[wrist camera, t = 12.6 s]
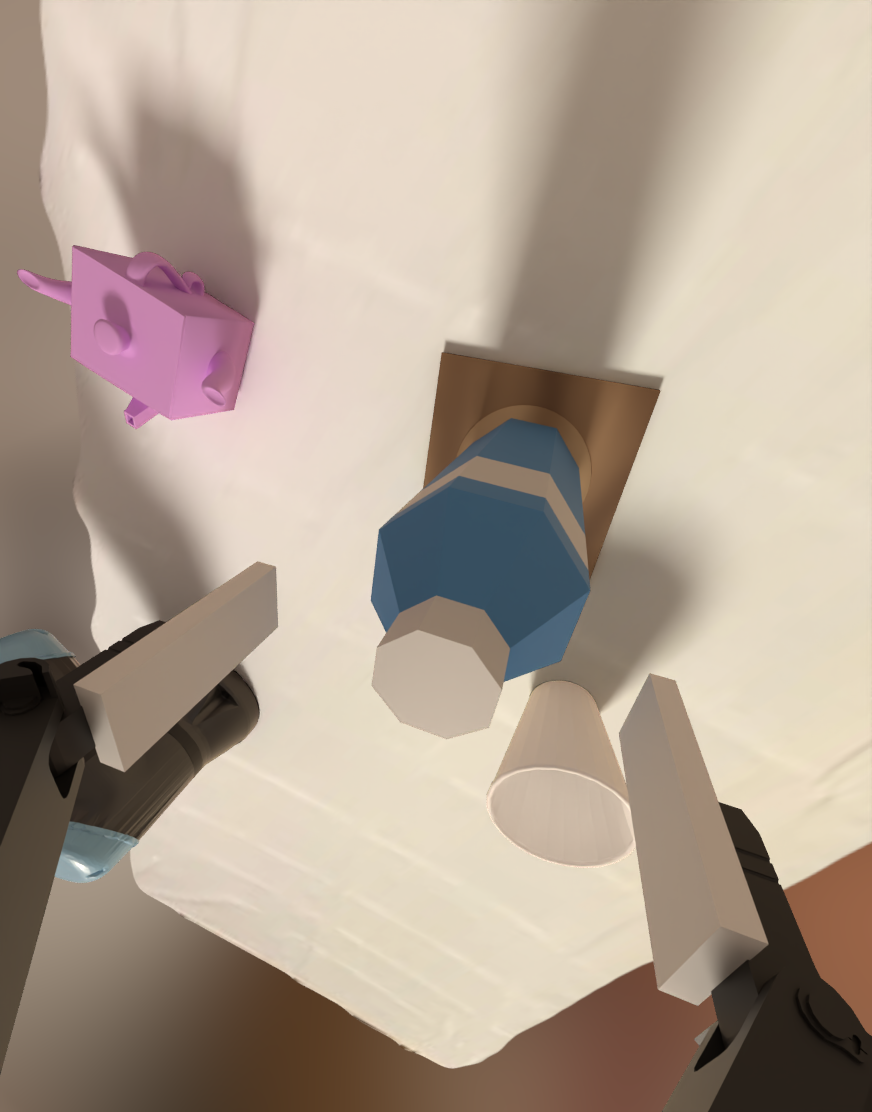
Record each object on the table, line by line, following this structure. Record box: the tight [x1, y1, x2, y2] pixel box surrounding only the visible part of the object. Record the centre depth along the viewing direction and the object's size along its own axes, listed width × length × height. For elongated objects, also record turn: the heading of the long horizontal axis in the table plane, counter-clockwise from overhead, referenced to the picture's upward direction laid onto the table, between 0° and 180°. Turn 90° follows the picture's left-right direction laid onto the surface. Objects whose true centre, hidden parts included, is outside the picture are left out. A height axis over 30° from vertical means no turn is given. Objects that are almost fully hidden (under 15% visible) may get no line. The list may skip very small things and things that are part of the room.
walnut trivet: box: [423, 353, 660, 580], centre depth 34 cm, size 16×16×1 cm
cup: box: [487, 680, 636, 868], centre depth 38 cm, size 12×12×12 cm
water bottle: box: [371, 418, 590, 739], centre depth 23 cm, size 9×9×25 cm
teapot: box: [17, 245, 254, 429], centre depth 34 cm, size 18×13×10 cm
